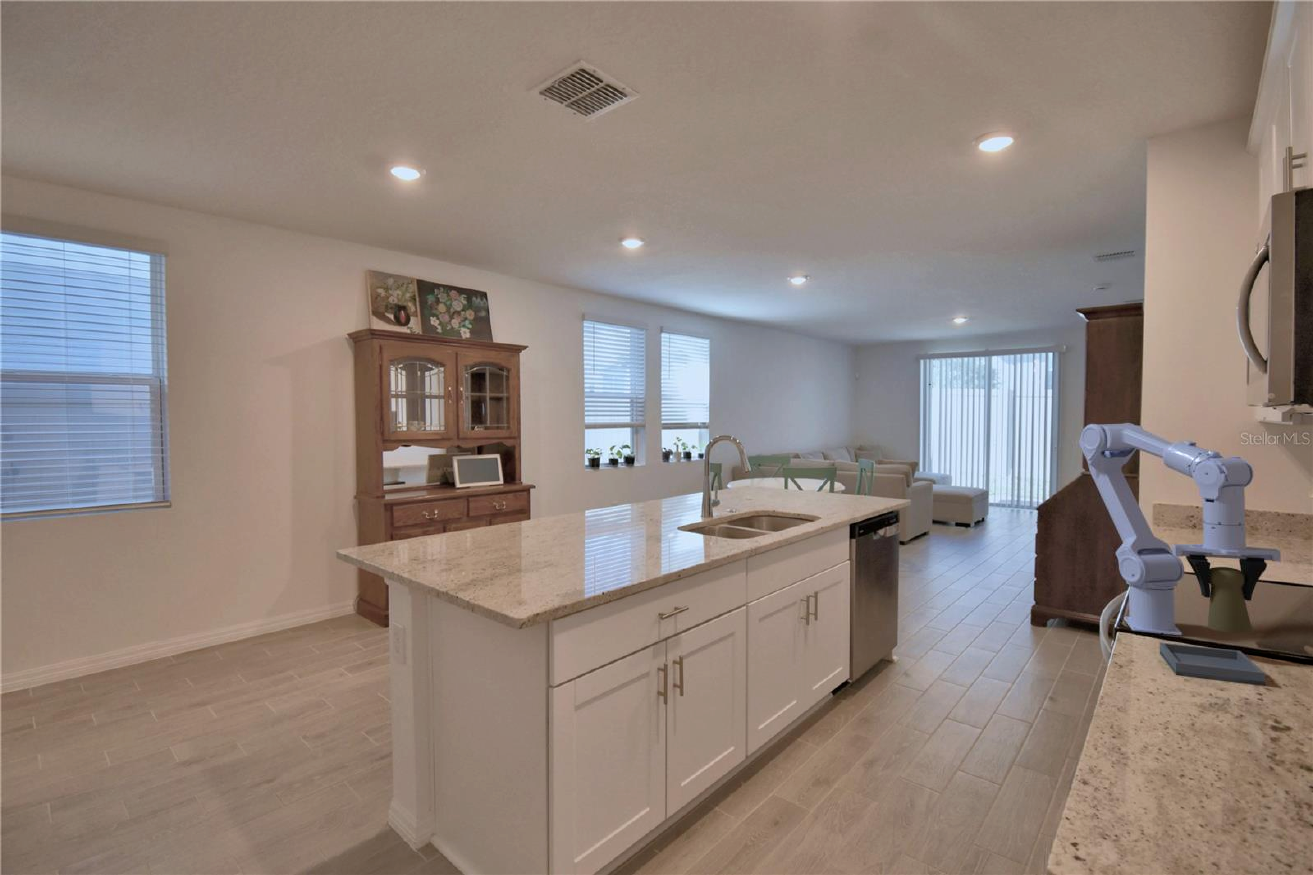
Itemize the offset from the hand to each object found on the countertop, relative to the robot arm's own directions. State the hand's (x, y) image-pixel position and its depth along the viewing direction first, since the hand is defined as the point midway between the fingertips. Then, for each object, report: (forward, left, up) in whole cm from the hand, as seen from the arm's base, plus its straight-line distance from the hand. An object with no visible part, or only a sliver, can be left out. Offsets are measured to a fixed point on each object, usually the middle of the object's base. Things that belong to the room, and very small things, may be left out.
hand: (1225, 597), depth 113 cm
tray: (+10, -5, -10) cm, 15 cm away
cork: (+1, 0, -6) cm, 6 cm away
